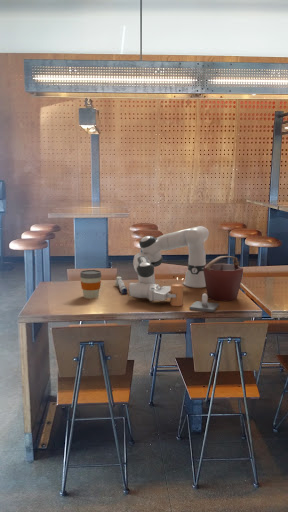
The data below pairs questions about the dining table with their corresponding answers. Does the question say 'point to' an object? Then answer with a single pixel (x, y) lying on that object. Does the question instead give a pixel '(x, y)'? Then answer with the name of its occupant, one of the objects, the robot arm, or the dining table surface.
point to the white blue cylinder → (121, 285)
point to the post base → (202, 308)
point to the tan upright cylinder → (177, 295)
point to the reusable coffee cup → (90, 283)
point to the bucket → (223, 279)
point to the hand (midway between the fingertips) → (178, 294)
